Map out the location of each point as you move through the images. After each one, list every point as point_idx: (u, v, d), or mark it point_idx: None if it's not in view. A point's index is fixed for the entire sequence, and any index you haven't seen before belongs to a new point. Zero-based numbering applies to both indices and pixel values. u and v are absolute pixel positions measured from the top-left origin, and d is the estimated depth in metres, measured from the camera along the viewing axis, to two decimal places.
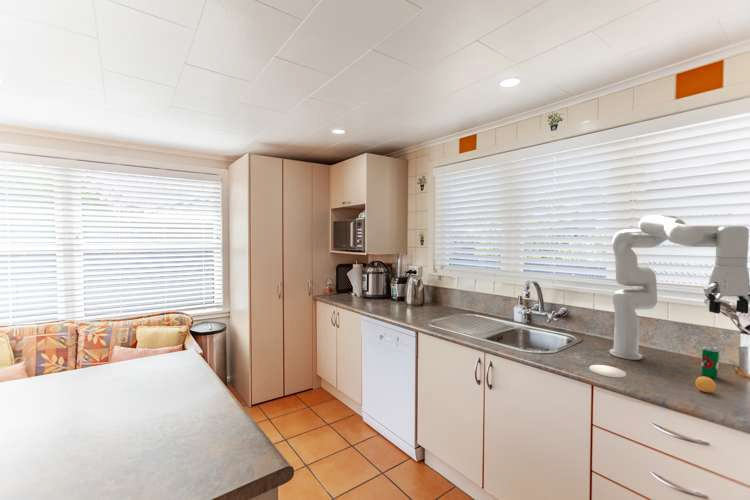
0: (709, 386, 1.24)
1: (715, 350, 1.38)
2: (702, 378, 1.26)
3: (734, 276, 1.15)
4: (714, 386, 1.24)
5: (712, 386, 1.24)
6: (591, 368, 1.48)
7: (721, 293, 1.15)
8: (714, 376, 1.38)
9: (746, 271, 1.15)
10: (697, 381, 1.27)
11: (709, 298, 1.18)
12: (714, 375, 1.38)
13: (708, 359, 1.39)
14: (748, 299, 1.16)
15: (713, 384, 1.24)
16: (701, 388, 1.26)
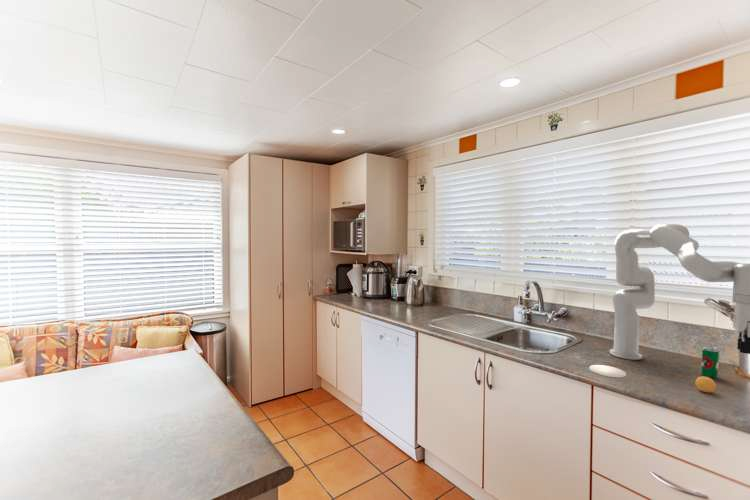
0: (709, 386, 1.24)
1: (715, 350, 1.38)
2: (702, 378, 1.26)
3: None
4: (714, 386, 1.24)
5: (712, 386, 1.24)
6: (591, 368, 1.48)
7: None
8: (714, 376, 1.38)
9: None
10: (697, 381, 1.27)
11: (747, 340, 1.17)
12: (714, 375, 1.38)
13: (708, 359, 1.39)
14: None
15: (713, 384, 1.24)
16: (701, 388, 1.26)
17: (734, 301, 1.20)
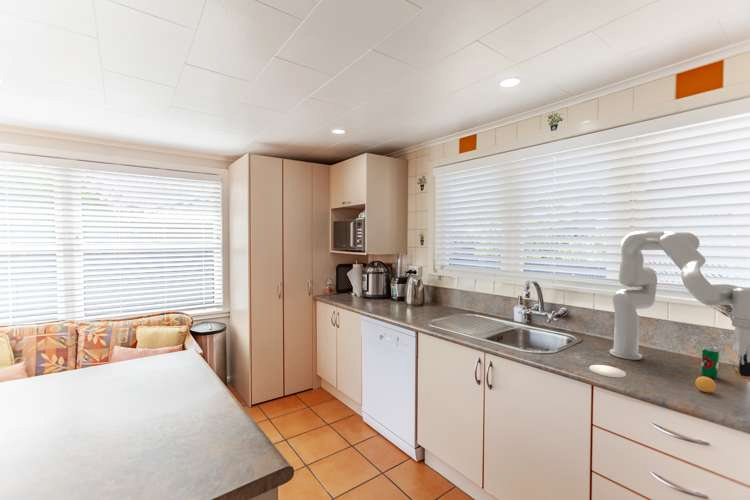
0: (709, 386, 1.24)
1: (715, 350, 1.38)
2: (702, 378, 1.26)
3: None
4: (714, 386, 1.24)
5: (712, 386, 1.24)
6: (591, 368, 1.48)
7: None
8: (714, 376, 1.38)
9: None
10: (697, 381, 1.27)
11: (746, 363, 1.18)
12: (714, 375, 1.38)
13: (708, 359, 1.39)
14: None
15: (713, 384, 1.24)
16: (701, 388, 1.26)
17: (733, 325, 1.20)
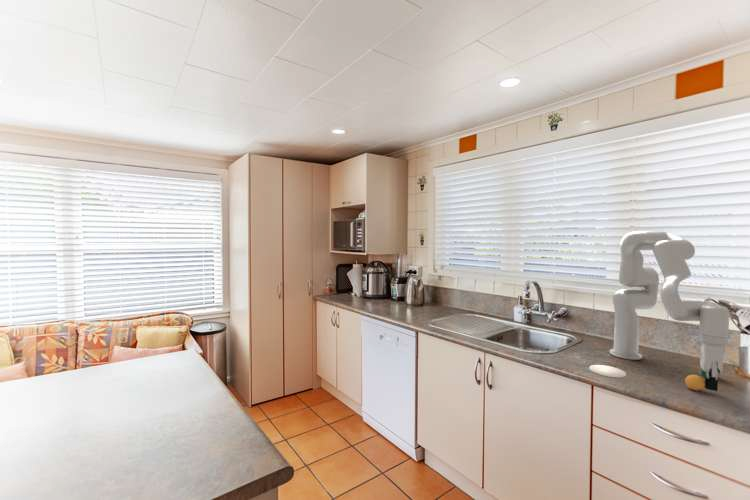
0: (696, 383, 1.26)
1: None
2: (687, 379, 1.29)
3: None
4: (700, 380, 1.26)
5: (699, 381, 1.26)
6: (591, 368, 1.48)
7: (721, 372, 1.21)
8: None
9: None
10: (687, 384, 1.29)
11: (711, 378, 1.24)
12: None
13: None
14: None
15: (698, 379, 1.26)
16: (695, 389, 1.27)
17: (700, 341, 1.26)
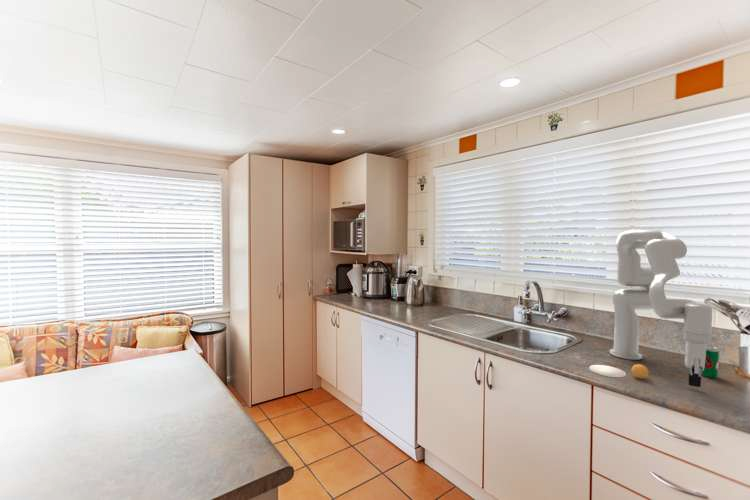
0: (641, 373, 1.36)
1: (715, 350, 1.38)
2: (634, 366, 1.38)
3: None
4: (645, 371, 1.36)
5: (644, 372, 1.36)
6: (591, 368, 1.48)
7: (703, 369, 1.23)
8: (714, 376, 1.38)
9: None
10: (632, 370, 1.39)
11: (694, 374, 1.27)
12: (714, 375, 1.38)
13: (708, 359, 1.39)
14: None
15: (644, 370, 1.36)
16: (636, 376, 1.38)
17: (684, 338, 1.29)
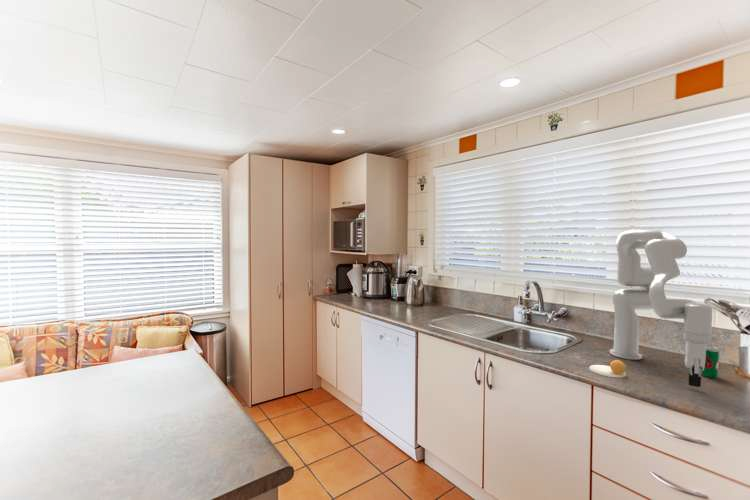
0: (616, 368, 1.41)
1: (715, 350, 1.38)
2: (619, 373, 1.42)
3: None
4: (611, 366, 1.43)
5: (613, 367, 1.42)
6: (591, 368, 1.48)
7: (703, 369, 1.23)
8: (714, 376, 1.38)
9: None
10: None
11: (694, 374, 1.27)
12: (714, 375, 1.38)
13: (708, 359, 1.39)
14: None
15: (611, 368, 1.43)
16: (622, 367, 1.40)
17: (684, 338, 1.29)
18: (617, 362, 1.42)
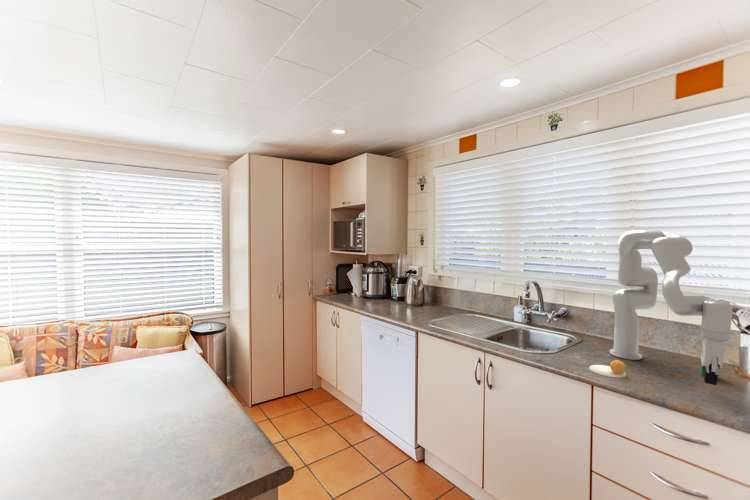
0: (616, 368, 1.41)
1: None
2: (619, 373, 1.42)
3: None
4: (611, 366, 1.43)
5: (613, 367, 1.42)
6: (591, 368, 1.48)
7: (721, 367, 1.21)
8: None
9: None
10: None
11: (711, 372, 1.24)
12: None
13: None
14: None
15: (611, 368, 1.43)
16: (622, 367, 1.40)
17: (701, 336, 1.26)
18: (617, 362, 1.42)
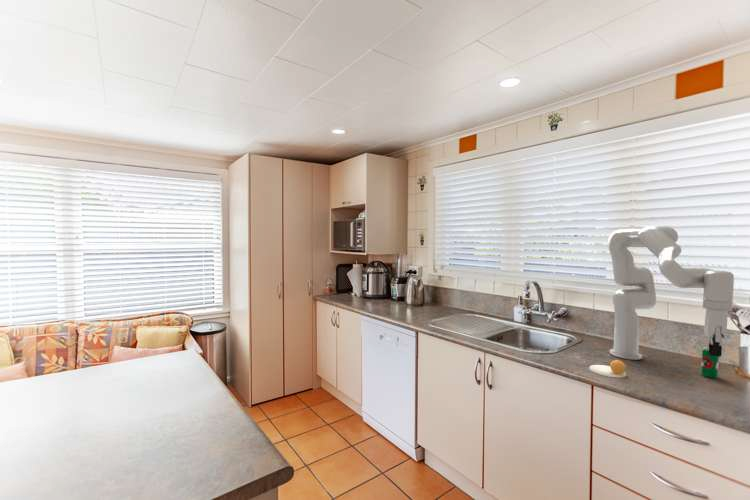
0: (616, 368, 1.41)
1: None
2: (619, 373, 1.42)
3: None
4: (611, 366, 1.43)
5: (613, 367, 1.42)
6: (591, 368, 1.48)
7: (725, 337, 1.20)
8: (714, 376, 1.38)
9: None
10: None
11: (715, 343, 1.23)
12: (714, 375, 1.38)
13: (708, 359, 1.39)
14: None
15: (611, 368, 1.43)
16: (622, 367, 1.40)
17: (704, 307, 1.25)
18: (617, 362, 1.42)
